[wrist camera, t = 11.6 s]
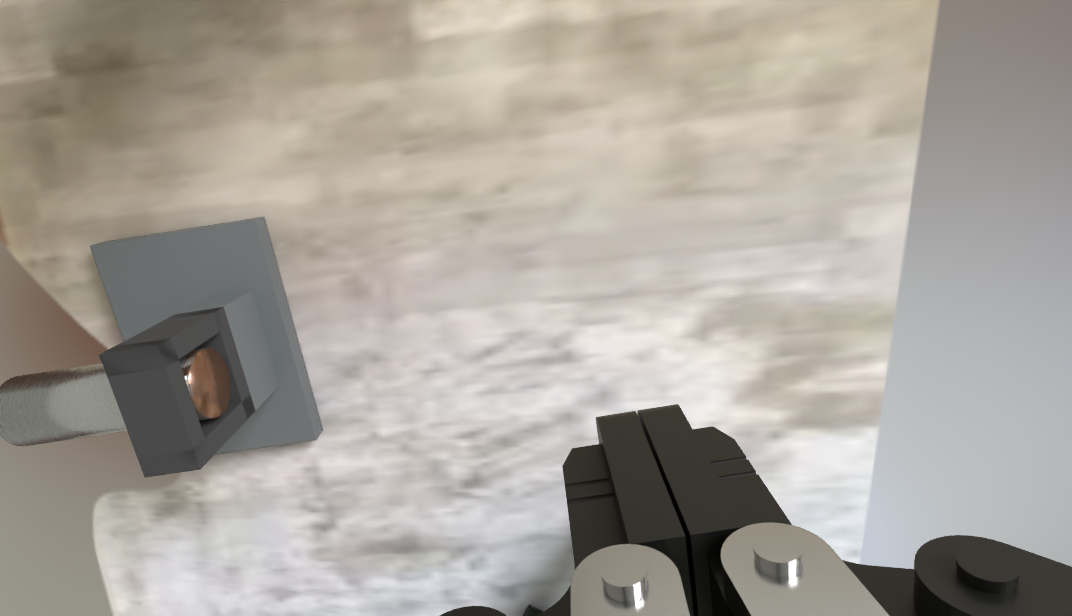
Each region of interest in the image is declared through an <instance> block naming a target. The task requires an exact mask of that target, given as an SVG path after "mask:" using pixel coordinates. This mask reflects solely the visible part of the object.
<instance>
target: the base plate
mask: <svg viewBox="0 0 1072 616" xmlns="http://www.w3.org/2000/svg"><path fill="white" fill-rule="evenodd" d="M90 248H91V251H92V254H93V257H94V259H95V262H96V265H97V268H98V270H99V273H100V276H101V279H102V282H103V284H104V287H105V290H106V293H107V295H108V298H109V301H110V304H111V307H112V309H113V312H114V315H115V318H116V320H117V323H118V326H119V329H120V331H121V334H122V337H123V340H124V341H126V340H128V339H130V338H131V337H133V336H135V335H137V334H139V333H141V332H143V331H145V330H146V329H148V328H150V327H152V326H154V325H156V324H158V323H160V322H161V321H163V320H165V319H167V318H169V317H171V316H173V315H175V314H179V313H186V312H192V311H199V310H205V309H212V308H219V307H224V309H225V313H226V316H227V319H228V323H229V326H230V329H231V332H232V336H233V339H234V342H235V345H236V349H237V352H238V355H239V358H240V362H241V365H242V368H243V371H244V375H245V378H246V381H247V385H248V388H249V391H250V394H251V398H252V401H253V404H254V407H255V412H254V413H253V414H252V415H251V416H250V417H249V418H248V419H247V421H246V422H245V423H244V424H243V425H242V426H241V427H240V428H239V429H238V430H237V431H236V432H235V433H234V434H233V435H232V436H231V437H230V438H229V440H228V441H227V442H226V443H225V444H224V445H223V446H222V447H221V448H220V449H219V450H218V451H217V452H216V453H215V454H214V455H216V454H223V453H229V452H236V451H243V450H250V449H257V448H264V447H270V446H277V445H284V444H291V443H298V442H304V441H311V440H317V438H318V437H319V435H320V434H321V432H322V431H323V428H322V425H321V421H320V418H319V414H318V410H317V407H316V403H315V399H314V396H313V392H312V388H311V385H310V381H309V378H308V374H307V370H306V367H305V363H304V359H303V356H302V352H301V348H300V345H299V341H298V338H297V334H296V330H295V327H294V323H293V319H292V316H291V312H290V308H289V305H288V301H287V298H286V294H285V290H284V287H283V283H282V279H281V276H280V272H279V269H278V265H277V261H276V258H275V254H274V250H273V247H272V243H271V239H270V236H269V232H268V229H267V225H266V221H265V218H264V217H261V218H254V219H248V220H241V221H235V222H228V223H222V224H215V225H209V226H203V227H196V228H190V229H183V230H177V231H170V232H164V233H157V234H151V235H144V236H138V237H132V238H125V239H119V240H112V241H106V242H102V243H98V244H94V245H90Z"/></svg>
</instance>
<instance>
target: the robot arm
mask: <svg viewBox="0 0 1072 616" xmlns="http://www.w3.org/2000/svg"><path fill="white" fill-rule="evenodd" d="M596 424H597V432H598V438H599V444H598V445H592V446H585V447H579V448H572V450H571V452H570V453H569V455H568V457H567V459H566V461H565V463H564V464H563V473H564V481H565V489H566V497H567V505H568V513H569V521H570V529H571V537H572V545H573V553H574V561H575V571H574V573H573V576H572V579H571V586H570V587H569V589H568V591H567V592H566V593H565V595H564V596H563V597H562V598H561V599H560V600H559V601H558V602H557V603H556V604H555V605H553V606H552V607H550V608H549V609H547V610H546V611H544V612H542V613H540V614H539V615H537V616H1072V567H1070V566H1067V565H1065V564H1062V563H1059V562H1056V561H1053V560H1050V559H1048V558H1045V557H1042V556H1039V555H1036V554H1034V553H1031V552H1028V551H1025V550H1022V549H1019V548H1016V547H1013V546H1011V545H1008V544H1005V543H1002V542H998V541H995V540H991V539H987V538H982V537H975V536H961V535H955V536H945V537H940V538H936V539H933V540H931V541H929V542H927V543H925V544H924V545H922V546H921V547H920V549H919V550H918V551H917V554H916V555H915V561H914V569H903V568H892V567H879V566H868V565H861V564H856V563H851V562H847V561H843V560H841V558H840V557H839V556H838V555H837V554H836V553H835V551H834V550H833V549H832V548H831V547H830V546H829V545H828V544H827V543H826V542H825V541H824V540H823V539H821V538H820V537H818V536H817V535H815V534H813V533H812V532H810V531H807V530H805V529H802V528H800V527H796V526H793V525H792V524H791V523H790V521H789V520H788V518H787V517H786V515H785V514H784V512H783V511H782V509H781V508H780V507H779V505H778V504H777V502H776V501H775V499H774V498H773V496H772V495H771V493H770V492H769V490H768V489H767V487H766V486H765V484H764V483H763V481H762V480H761V478H760V477H759V475H756V471H755V469H754V468H753V466H752V465H751V463H750V462H749V460H746V456H745V454H744V453H743V452H742V450H741V449H740V447H739V446H738V444H737V443H736V441H735V440H734V439H733V438H731V437H730V436H728V435H726V434H725V433H723V432H721V431H720V430H718V429H716V428H714V427H706V428H700V429H693V430H692V428H691V426H690V424H689V422H688V421H687V419H686V417H685V415H684V414H683V412H682V410H681V408H680V407H679V405H678V404H676V405H670V406H664V407H657V408H651V409H644V410H638V413H637V414H636V412H635V411H632V412H626V413H620V414H613V415H607V416H601V417H596ZM440 616H506V615H505V614H503V613H502V612H500V611H498V610H495V609H493V608H489V607H483V606H469V607H462V608H458V609H454V610H451V611H449V612H446V613H444V614H442V615H440Z"/></svg>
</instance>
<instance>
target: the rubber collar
mask: <svg viewBox="0 0 1072 616" xmlns="http://www.w3.org/2000/svg"><path fill="white" fill-rule="evenodd" d="M201 348H213V349H215V350H216V351H218V352H219V353H220V355H221V356H222V357H223V359H224V360H225V362H226V365H227V367H228V370H229V374H230V380H231V396H230V401H229V404H228V407H227V409H226V410H225V412H224V413H223V414H222V415H221V416H219V417H217V418H211V419H205V420H199V419H198V416H197V414H196V411H195V408H194V405H193V402H192V399H191V396H190V393H189V390H188V387H187V384H186V381H185V378H184V375H183V372H182V369H181V366H180V363H179V360H178V359H180V358H181V357H183V356H184V355H186V354H187V353H189V352H190V351H192V350H195V349H201ZM99 356H100V359H101V361H102V364H103V367H104V370H105V372H106V375H107V378H108V380H109V383H110V386H111V388H112V391H113V394H114V396H115V399H116V402H117V404H118V407H119V410H120V412H121V415H122V418H123V420H124V423H125V426H126V428H127V431H128V433H129V436H130V439H131V442H132V444H133V447H134V450H135V452H136V455H137V457H138V460H139V463H140V465H141V468H142V471H143V473H144V476H145V477H151V476H158V475H165V474H171V473H179V472H185V471H192V470H199V469H201V468H202V467H203V466H204V465H205V464H206V463H207V462H208V461H209V460H210V459H211V458H212V456H213V455H214V454H215V453H216V452H217V451H218V450H219V449H220V448H221V447H222V446H223V445H224V444H225V443H226V442H227V441H228V440H229V438H230V437H231V436H232V435H233V434H234V433H235V432H236V431H237V430H238V429H239V428H240V427H241V426H242V425H243V424H244V423H245V422H246V421H247V419H248V418H249V417H250V416H251V415H252V414H253V413H254V412H255V407H254V404H253V401H252V398H251V394H250V391H249V388H248V385H247V381H246V378H245V375H244V371H243V368H242V365H241V362H240V358H239V355H238V352H237V349H236V345H235V342H234V339H233V336H232V332H231V329H230V326H229V323H228V319H227V316H226V313H225V309H224V307H219V308H212V309H205V310H199V311H192V312H186V313H179V314H175V315H173V316H171V317H169V318H167V319H165V320H163V321H161V322H160V323H158V324H156V325H154V326H152V327H150V328H148V329H146V330H145V331H143V332H141V333H139V334H137V335H135V336H133V337H131V338H130V339H128V340H126V341H124V342H122V343H120V344H118V345H116V346H115V347H113V348H111V349H109V350H107V351H105V352H103V353H101V354H100V355H99Z"/></svg>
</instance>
